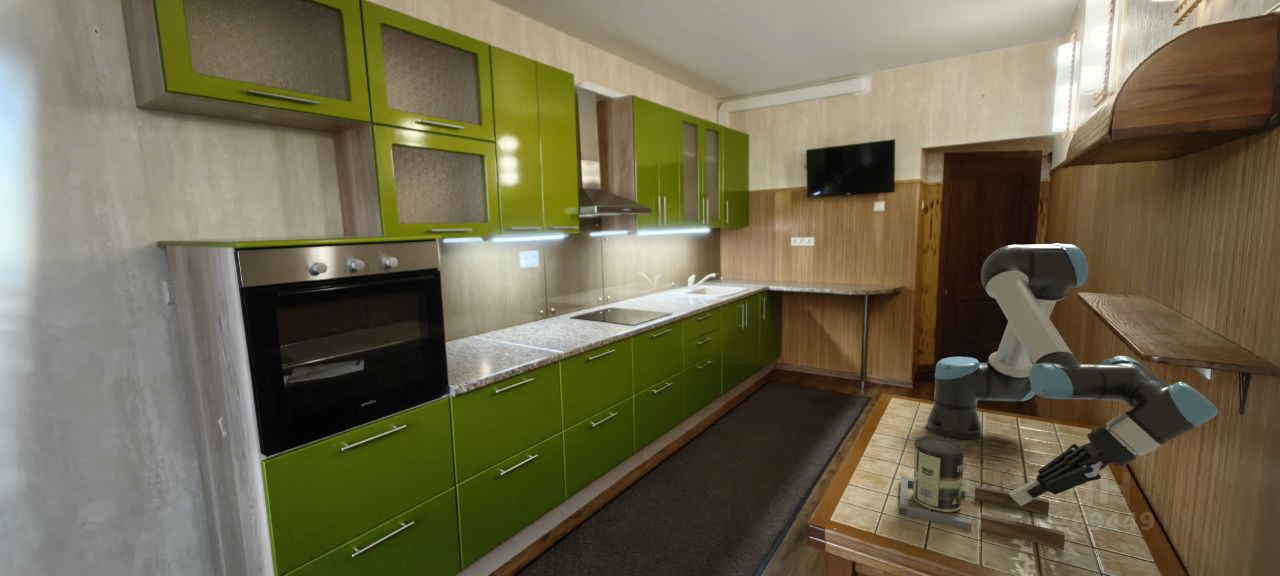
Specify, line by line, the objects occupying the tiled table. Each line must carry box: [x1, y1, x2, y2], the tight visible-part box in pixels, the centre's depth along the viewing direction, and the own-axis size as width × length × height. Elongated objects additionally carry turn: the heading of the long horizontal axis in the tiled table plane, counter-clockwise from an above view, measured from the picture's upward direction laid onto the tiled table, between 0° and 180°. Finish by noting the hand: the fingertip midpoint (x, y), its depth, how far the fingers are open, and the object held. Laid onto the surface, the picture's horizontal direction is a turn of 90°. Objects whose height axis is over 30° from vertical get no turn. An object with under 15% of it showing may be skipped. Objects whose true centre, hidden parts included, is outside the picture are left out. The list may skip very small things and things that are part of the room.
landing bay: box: [899, 475, 972, 531], centre depth 121 cm, size 16×14×2 cm
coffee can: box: [912, 436, 965, 513], centre depth 121 cm, size 10×10×14 cm
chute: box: [974, 485, 1066, 550], centre depth 113 cm, size 15×14×3 cm
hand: (1015, 499), depth 112 cm, fingers closed
